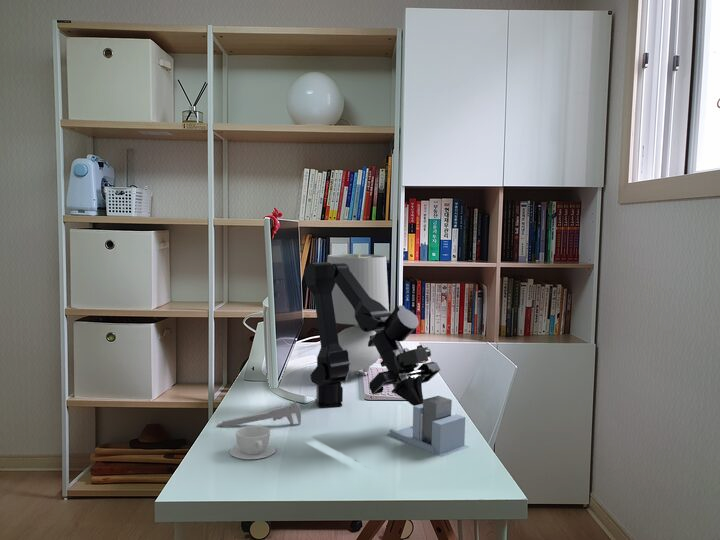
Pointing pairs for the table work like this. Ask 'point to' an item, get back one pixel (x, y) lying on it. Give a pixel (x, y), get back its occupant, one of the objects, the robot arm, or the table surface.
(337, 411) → the table surface
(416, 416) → the free jaw
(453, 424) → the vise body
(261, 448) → the teacup
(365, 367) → the table lamp
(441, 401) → the block
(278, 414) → the caliper
